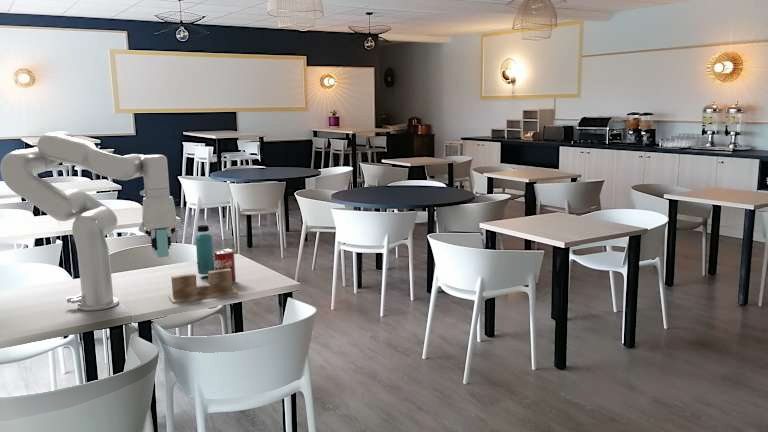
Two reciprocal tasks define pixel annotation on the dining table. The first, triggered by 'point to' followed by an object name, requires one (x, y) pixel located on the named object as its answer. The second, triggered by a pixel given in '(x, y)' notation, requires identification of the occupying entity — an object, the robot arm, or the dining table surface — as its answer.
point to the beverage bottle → (204, 251)
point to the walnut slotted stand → (201, 286)
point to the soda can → (225, 261)
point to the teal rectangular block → (161, 243)
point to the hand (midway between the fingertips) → (161, 248)
